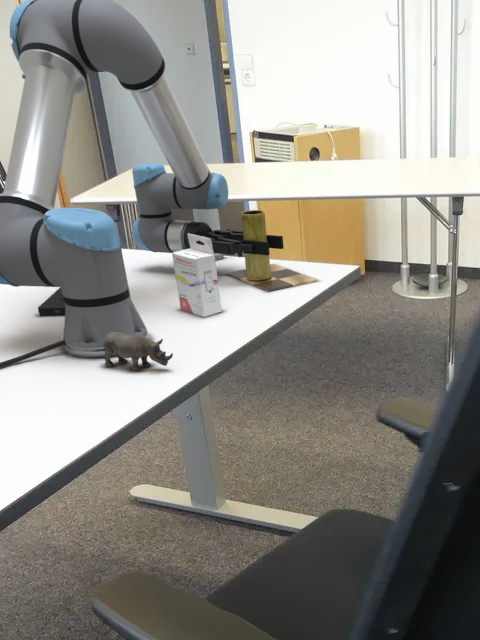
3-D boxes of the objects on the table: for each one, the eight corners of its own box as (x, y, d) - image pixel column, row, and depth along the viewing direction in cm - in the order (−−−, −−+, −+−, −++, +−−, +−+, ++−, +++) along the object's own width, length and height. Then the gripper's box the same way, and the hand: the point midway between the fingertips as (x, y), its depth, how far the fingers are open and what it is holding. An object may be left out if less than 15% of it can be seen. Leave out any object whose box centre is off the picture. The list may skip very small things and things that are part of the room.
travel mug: (223, 260, 195) (212, 175, 183) (197, 261, 195) (185, 176, 184) (226, 254, 200) (216, 171, 189) (202, 255, 200) (190, 172, 189)
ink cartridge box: (179, 310, 160) (167, 236, 152) (198, 304, 163) (187, 232, 155) (204, 317, 155) (193, 242, 147) (223, 311, 158) (213, 237, 150)
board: (268, 291, 170) (268, 290, 169) (227, 274, 183) (227, 273, 183) (316, 281, 176) (316, 279, 176) (273, 265, 189) (273, 263, 189)
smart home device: (35, 308, 158) (64, 282, 175) (37, 316, 159) (66, 289, 176) (75, 306, 158) (100, 280, 175) (77, 314, 159) (102, 288, 176)
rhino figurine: (168, 376, 129) (162, 341, 125) (101, 367, 133) (93, 334, 130) (181, 367, 132) (175, 333, 128) (115, 359, 136) (108, 326, 133)
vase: (274, 273, 180) (268, 209, 172) (269, 280, 175) (263, 214, 167) (249, 273, 180) (242, 209, 172) (243, 280, 175) (236, 215, 167)
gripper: (216, 246, 189) (296, 253, 180) (170, 264, 175) (255, 272, 166) (211, 214, 185) (294, 219, 176) (164, 229, 171) (251, 237, 162)
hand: (275, 245), depth 171 cm, fingers closed on vase, 5 cm apart
